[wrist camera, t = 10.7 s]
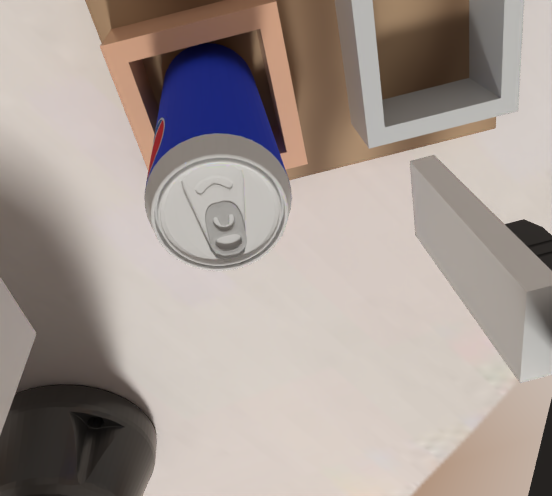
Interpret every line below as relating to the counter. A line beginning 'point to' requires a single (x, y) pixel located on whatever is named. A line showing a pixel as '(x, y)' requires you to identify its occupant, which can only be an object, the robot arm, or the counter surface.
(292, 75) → the walnut board
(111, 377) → the counter surface
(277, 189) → the beverage can
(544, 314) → the robot arm
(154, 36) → the terracotta socket
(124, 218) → the counter surface
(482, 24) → the grey socket
